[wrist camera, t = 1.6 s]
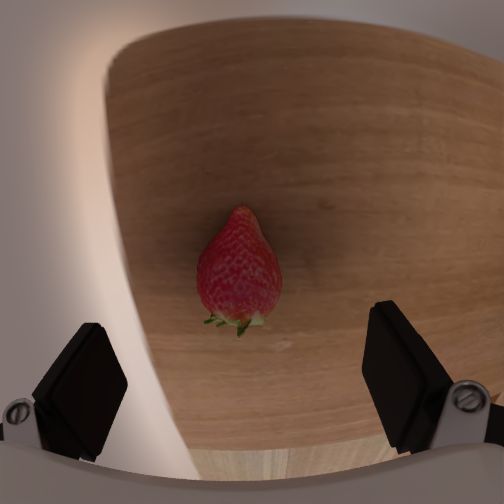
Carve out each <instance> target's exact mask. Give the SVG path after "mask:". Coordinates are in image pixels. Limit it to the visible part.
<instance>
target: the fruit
mask: <svg viewBox="0 0 504 504" xmlns="http://www.w3.org/2000/svg"><path fill="white" fill-rule="evenodd" d="M196 278H197V290H198V293H199V295H200V297H201V301H202V303H203V305H204V306H205V307H206V308H207V309H208V310H209V311H210V312H211V318H210V319H209V320H206V321H204V324H209V323H214V322H218V321H223V322H222V323H220V324H218V325H217V326H216V327H219V326H223V325H227V324H229V325H233V326H238V327H237V329H238V332H237V336H238V338H240V336H242V335H243V334H244V332H245V330H246V328H247V327H248V326H250V325H260V326H263V324H264V323H265V319H264V318H265V317H266V316H267V315H268V314H269V313H270V312H271V311H272V310H273V308H274V306H275V305H276V303H277V301H278V299H279V296H280V291H281V287H282V276H281V272H280V269H279V266H278V262H277V258H276V256H275V255H274V253H273V251H272V249H271V247H270V245H269V244H268V243H267V241H266V240H265V238H264V236H263V234H262V232H261V229H260V226H259V224H258V221H257V218H256V216H255V215H254V214H253V212H252V211H251V210H250V209H249V208H247V207H246V206H244V205H241V206H238V207H236V208H235V209H234V211H233V212H232V214H231V216H230V217H229V219H228V221H227V223H226V224H225V225H224V226H223V228H222V230H221V231H220V232H219V233H218V234H217V235H216V236H215V237H214V238H213V239H212V241H210V242H209V244H208V245H207V247H206V249H205V250H204V251H203V252H202V254H201V256H200V257H199V259H198V266H197V277H196Z"/></svg>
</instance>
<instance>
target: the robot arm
mask: <svg viewBox="0 0 504 504" xmlns="http://www.w3.org/2000/svg"><path fill="white" fill-rule="evenodd" d="M362 374H363V377H364V379H365V382H366V384H367V387H368V389H369V391H370V394H371V396H372V399H373V402H374V404H375V407H376V409H377V412H378V414H379V417H380V420H381V422H382V425H383V427H384V430H385V433H386V435H387V438H388V441H389V444H390V446H391V447H392V448H393V447H396V449H397V452H398V454H402V453H405V452H408V451H410V453H411V455H408V456H404V457H400V458H396V459H393V460H389V461H385V462H381V463H377V464H373V465H369V466H364V467H360V468H355V469H350V470H345V471H339V472H334V473H328V474H322V475H315V476H307V477H299V478H290V479H278V480H262V481H203V480H187V479H176V478H166V477H157V476H150V475H144V474H137V473H132V472H126V471H121V470H116V469H111V468H106V467H102V466H98V465H94V464H90V463H86V462H82V461H79V458H80V457H81V458H82V459H83V460H87V461H91V462H95V460H96V457H97V456H98V455H100V454H101V452H102V449H103V446H104V444H105V441H106V439H107V436H108V433H109V431H110V429H111V426H112V424H113V421H114V419H115V416H116V413H117V411H118V409H119V406H120V404H121V401H122V399H123V397H124V394H125V392H126V390H127V386H128V383H127V379H126V377H125V375H124V373H123V370H122V368H121V366H120V364H119V362H118V359H117V357H116V355H115V352H114V350H113V348H112V345H111V343H110V341H109V338H108V336H107V333H106V331H105V329H104V327H101V325H100V324H99V323H84V324H83V325H82V326H81V327H80V328H79V330H78V331H77V332H76V334H75V335H74V336H73V338H72V339H71V340H70V341H69V343H68V344H67V345H66V347H65V348H64V349H63V351H62V352H61V354H60V355H59V356H58V358H57V359H56V360H55V362H54V363H53V364H52V366H51V367H50V369H49V370H48V372H47V373H46V374H45V376H44V377H43V379H42V380H41V381H40V383H39V384H38V386H37V387H36V389H35V390H34V392H33V393H32V396H33V398H34V399H35V403H34V404H33V403H32V402H31V401H30V400H28V399H26V398H21V399H17V400H15V401H13V402H11V403H10V404H9V405H8V406H7V407H6V409H5V410H4V413H3V423H1V424H0V504H504V407H503V406H500V405H496V404H492V403H490V395H489V392H488V390H487V389H486V388H485V387H484V386H483V385H481V384H480V383H478V382H476V381H473V380H461V381H458V382H456V383H454V382H453V381H452V379H451V378H450V376H449V375H448V373H447V372H446V371H445V369H444V368H443V366H442V365H441V363H440V362H439V360H438V359H437V358H436V356H435V355H434V353H433V352H432V351H431V349H430V348H429V346H428V345H427V344H426V342H425V341H424V339H423V338H422V337H421V336H420V335H419V334H418V333H417V332H416V331H415V329H414V328H413V326H412V325H411V324H410V322H409V321H408V320H407V318H406V317H405V316H404V314H403V313H402V312H401V311H400V309H399V308H398V307H397V305H396V304H395V303H394V302H393V301H392V300H389V301H382V302H377V303H375V306H374V307H372V308H371V309H370V313H369V321H368V329H367V337H366V344H365V350H364V356H363V363H362Z"/></svg>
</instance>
